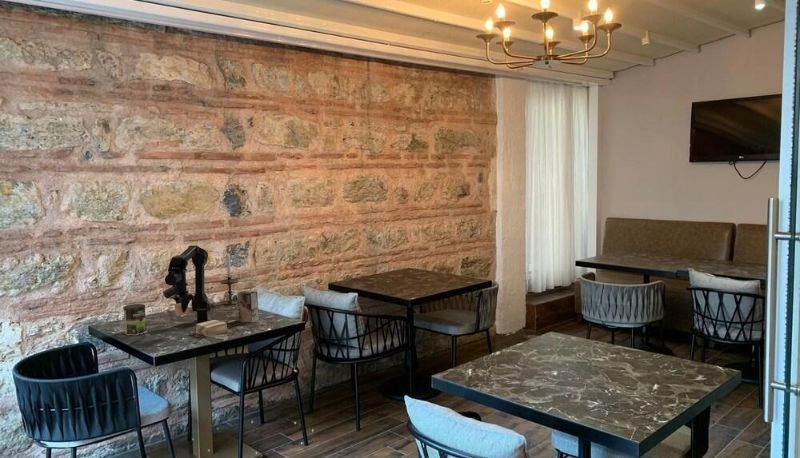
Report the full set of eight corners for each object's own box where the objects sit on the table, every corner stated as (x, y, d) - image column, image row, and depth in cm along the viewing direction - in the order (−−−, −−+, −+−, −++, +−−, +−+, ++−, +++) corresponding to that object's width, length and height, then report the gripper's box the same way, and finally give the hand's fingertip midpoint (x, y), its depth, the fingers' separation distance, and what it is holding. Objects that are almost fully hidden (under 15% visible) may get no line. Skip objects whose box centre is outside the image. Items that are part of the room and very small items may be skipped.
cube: (175, 313, 293) (174, 303, 293) (184, 311, 297) (184, 302, 296) (178, 315, 290) (178, 305, 289) (188, 313, 293) (188, 303, 292)
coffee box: (259, 319, 320) (258, 291, 319) (252, 322, 314) (251, 293, 313) (245, 318, 324) (244, 290, 322) (238, 321, 318) (237, 292, 316)
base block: (196, 333, 296) (195, 324, 296) (215, 328, 305) (214, 319, 304) (207, 337, 289) (207, 327, 289) (227, 332, 298) (226, 323, 297)
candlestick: (234, 305, 354) (232, 249, 350) (218, 305, 356) (215, 249, 352) (242, 301, 365) (240, 247, 361) (226, 301, 367) (223, 246, 363)
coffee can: (151, 331, 300) (149, 305, 298) (132, 336, 291) (131, 309, 290) (139, 329, 305) (137, 302, 304) (120, 333, 296) (118, 307, 295)
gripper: (157, 281, 293) (159, 311, 295) (170, 286, 279) (172, 318, 281) (179, 277, 300) (180, 307, 302) (193, 283, 286) (195, 313, 288)
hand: (181, 311), depth 293 cm, fingers closed on cube, 5 cm apart
